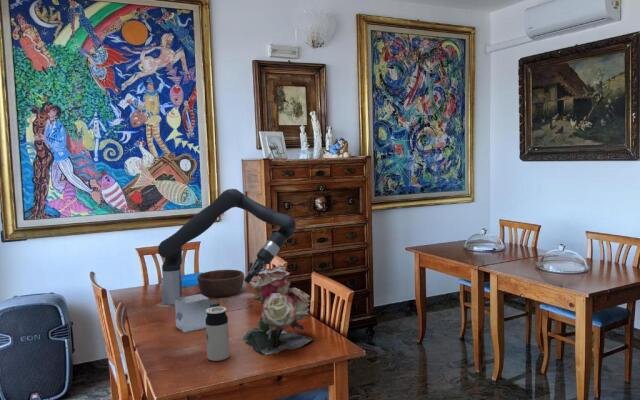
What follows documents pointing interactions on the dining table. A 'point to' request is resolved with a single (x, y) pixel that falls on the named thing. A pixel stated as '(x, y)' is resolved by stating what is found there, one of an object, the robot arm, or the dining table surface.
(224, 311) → the travel mug
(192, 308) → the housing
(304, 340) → the rose bouquet
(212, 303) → the dark boxy piece
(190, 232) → the robot arm
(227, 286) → the wooden bowl
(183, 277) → the book
